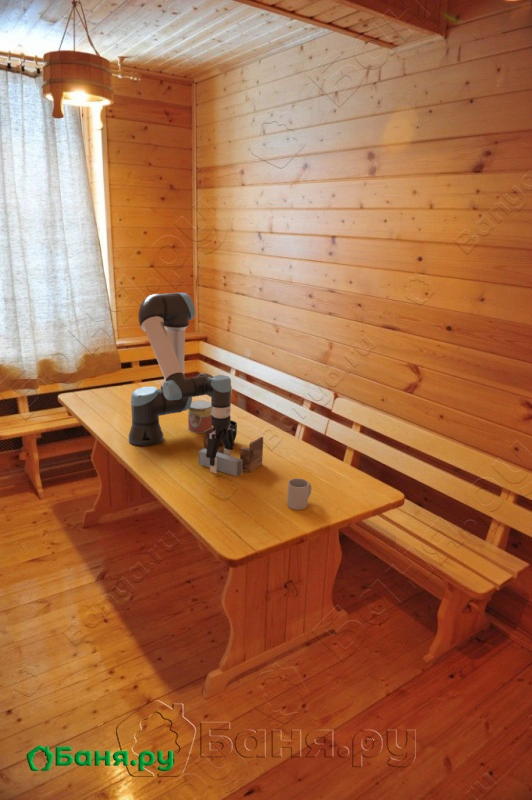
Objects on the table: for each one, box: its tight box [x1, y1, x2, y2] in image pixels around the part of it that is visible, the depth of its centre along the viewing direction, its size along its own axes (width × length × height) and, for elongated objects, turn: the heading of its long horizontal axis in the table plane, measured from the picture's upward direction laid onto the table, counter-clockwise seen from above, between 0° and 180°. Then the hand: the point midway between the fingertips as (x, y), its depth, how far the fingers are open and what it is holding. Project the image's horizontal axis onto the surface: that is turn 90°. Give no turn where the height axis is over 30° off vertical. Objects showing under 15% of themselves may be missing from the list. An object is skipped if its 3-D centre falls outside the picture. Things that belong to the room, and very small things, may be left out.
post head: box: [203, 426, 226, 454], centre depth 239 cm, size 5×9×12 cm, turn 149°
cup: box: [286, 477, 312, 511], centre depth 203 cm, size 7×10×9 cm
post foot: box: [239, 436, 264, 473], centre depth 230 cm, size 5×9×12 cm, turn 149°
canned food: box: [187, 400, 213, 434], centre depth 268 cm, size 11×11×12 cm
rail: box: [198, 447, 243, 477], centre depth 228 cm, size 19×4×6 cm, turn 59°
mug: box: [230, 419, 238, 443], centre depth 251 cm, size 8×12×10 cm
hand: (220, 468), depth 229 cm, fingers open, 8 cm apart
